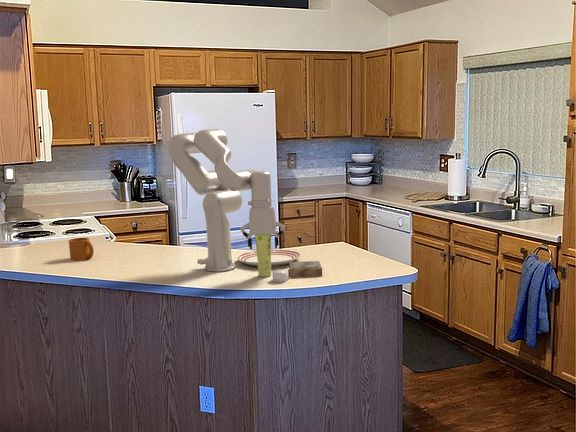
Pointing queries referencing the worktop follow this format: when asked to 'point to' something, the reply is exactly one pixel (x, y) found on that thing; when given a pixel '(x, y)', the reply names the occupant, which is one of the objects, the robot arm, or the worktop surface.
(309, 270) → the stand
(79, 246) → the mug
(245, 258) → the dinner plate
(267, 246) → the tube
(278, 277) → the white dome
